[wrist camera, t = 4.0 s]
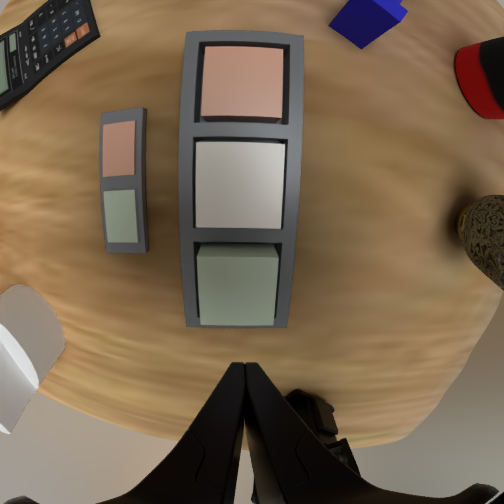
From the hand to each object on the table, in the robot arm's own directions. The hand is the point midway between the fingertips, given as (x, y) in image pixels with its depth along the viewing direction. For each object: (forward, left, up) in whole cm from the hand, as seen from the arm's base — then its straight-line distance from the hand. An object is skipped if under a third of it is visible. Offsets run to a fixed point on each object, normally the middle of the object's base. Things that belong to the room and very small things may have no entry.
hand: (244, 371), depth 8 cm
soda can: (+28, -6, -12) cm, 31 cm away
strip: (-1, +10, -12) cm, 15 cm away
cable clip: (+23, +7, -12) cm, 27 cm away
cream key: (+4, +3, -10) cm, 11 cm away
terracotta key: (+8, +7, -11) cm, 16 cm away
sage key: (-1, 0, -10) cm, 10 cm away
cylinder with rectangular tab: (-20, +11, -12) cm, 26 cm away
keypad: (+4, +3, -12) cm, 13 cm away
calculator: (+3, +26, -12) cm, 29 cm away
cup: (+16, -14, -12) cm, 24 cm away
